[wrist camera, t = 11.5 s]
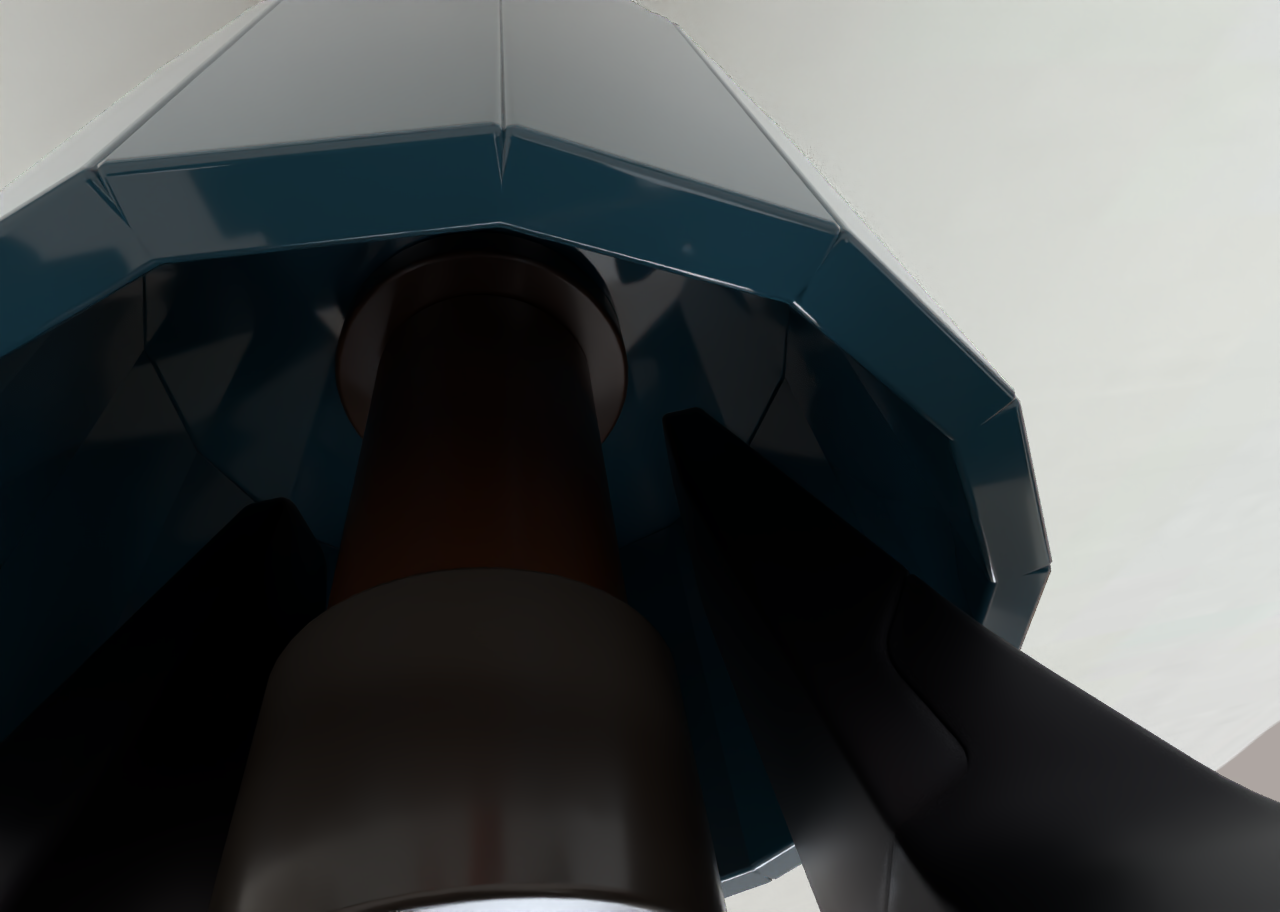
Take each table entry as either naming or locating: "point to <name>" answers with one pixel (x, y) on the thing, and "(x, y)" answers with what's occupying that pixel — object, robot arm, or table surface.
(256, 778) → the flanged grey cylinder
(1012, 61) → the table surface
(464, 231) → the faceted blue grey bowl
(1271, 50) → the table surface
